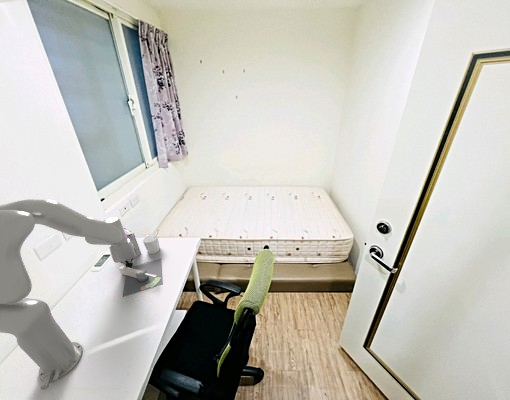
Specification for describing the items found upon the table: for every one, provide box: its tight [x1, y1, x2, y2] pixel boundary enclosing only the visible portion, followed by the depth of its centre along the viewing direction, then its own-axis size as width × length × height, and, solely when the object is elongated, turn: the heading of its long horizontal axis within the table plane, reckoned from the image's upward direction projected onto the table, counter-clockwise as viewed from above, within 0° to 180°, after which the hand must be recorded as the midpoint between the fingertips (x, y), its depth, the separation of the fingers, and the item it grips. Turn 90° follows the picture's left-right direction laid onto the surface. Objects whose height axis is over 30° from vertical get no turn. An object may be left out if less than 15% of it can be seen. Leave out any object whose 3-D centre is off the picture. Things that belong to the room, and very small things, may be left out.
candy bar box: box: [123, 227, 142, 256], centre depth 128 cm, size 11×5×16 cm, turn 58°
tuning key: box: [118, 265, 157, 282], centre depth 112 cm, size 22×5×4 cm, turn 72°
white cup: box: [142, 233, 161, 255], centre depth 131 cm, size 8×8×10 cm
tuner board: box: [122, 258, 164, 298], centre depth 115 cm, size 20×18×1 cm
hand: (130, 267), depth 118 cm, fingers closed
